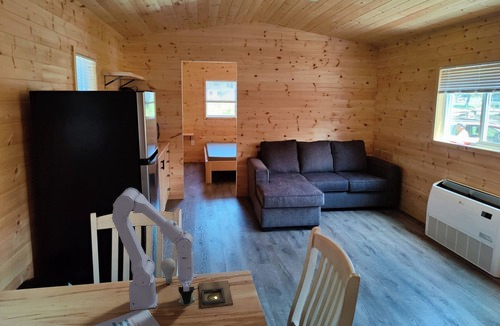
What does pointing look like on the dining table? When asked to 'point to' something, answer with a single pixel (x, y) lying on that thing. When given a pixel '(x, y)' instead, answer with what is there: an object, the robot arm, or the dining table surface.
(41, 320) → the dining table surface
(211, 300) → the dark grey square frame
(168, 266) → the lightbulb
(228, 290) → the board
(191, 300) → the pale green pear shape
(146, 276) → the robot arm
